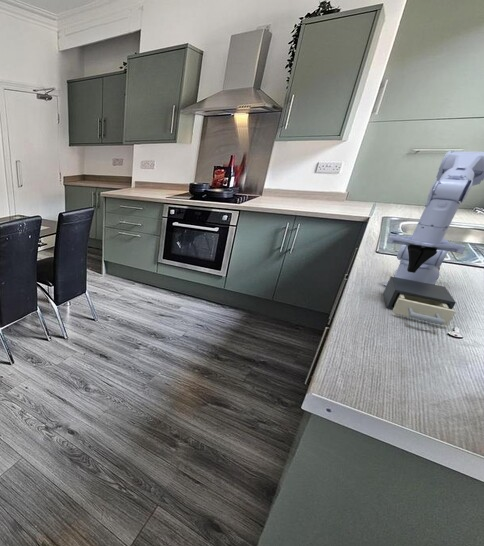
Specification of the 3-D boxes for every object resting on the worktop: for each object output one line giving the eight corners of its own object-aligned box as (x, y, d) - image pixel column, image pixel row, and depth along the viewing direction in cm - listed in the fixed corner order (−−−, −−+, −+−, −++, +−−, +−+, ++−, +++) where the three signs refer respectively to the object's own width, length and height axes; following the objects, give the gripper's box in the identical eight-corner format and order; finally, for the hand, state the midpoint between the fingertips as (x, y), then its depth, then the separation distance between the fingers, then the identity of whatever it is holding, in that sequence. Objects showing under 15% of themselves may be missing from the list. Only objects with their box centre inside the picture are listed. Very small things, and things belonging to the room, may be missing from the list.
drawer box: (444, 322, 83) (456, 302, 81) (386, 308, 90) (395, 289, 88) (435, 305, 92) (445, 286, 90) (382, 293, 99) (390, 276, 97)
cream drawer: (452, 334, 76) (461, 320, 75) (394, 320, 82) (401, 306, 81) (438, 309, 88) (445, 295, 87) (388, 298, 94) (394, 285, 93)
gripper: (397, 223, 85) (378, 268, 91) (478, 232, 77) (451, 282, 82) (394, 219, 90) (376, 262, 96) (470, 227, 82) (445, 274, 87)
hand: (410, 271), depth 89 cm, fingers closed
